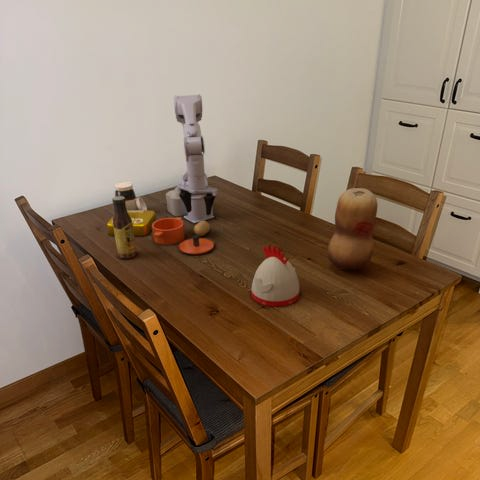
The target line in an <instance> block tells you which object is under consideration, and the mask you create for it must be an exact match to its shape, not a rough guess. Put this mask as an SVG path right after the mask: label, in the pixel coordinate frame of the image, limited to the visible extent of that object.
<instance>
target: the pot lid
mask: <svg viewBox="0 0 480 480" xmlns="http://www.w3.org/2000/svg"><path fill="white" fill-rule="evenodd" d="M214 247H215V245H214V242H213V241H212V240H210V239H208V238H203V237H200V236H198V235H196V234H193V235H192V237H191V238H189V239H184V240H183V241H181V242H180V243H179V244H178V249H179V251H180V252H181V253H184V254H188V255H202V254H206V253H209V252H211V251H212V250H213V249H214Z"/></svg>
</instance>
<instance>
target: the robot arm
mask: <svg viewBox="0 0 480 480" xmlns="http://www.w3.org/2000/svg"><path fill="white" fill-rule="evenodd" d="M173 107H174V114H175V119H176V122H177V123H179V124H181V125H182V131H183V141H182V142H183V151H184V156H185V162H186V171H185V172H183V174H182V175H181V183H180V184H178V185H176V187H177V190H178V191H179V192H180V191H181V192H180V194H179V197H180V198H181V199H182V201H183V203H184V205H185V207H186V210H187V213H188V215H183V218H184V219H186V220H187V221H189V222H191V223H193V224H198V223H199V222H200V221H207V220H211V219H214V218H215V216H214V207H213V204H214V202H215V199H216V197H217V195H219V190H218V188H215V187H212V186H209V181H208V175H207V174H206V172H205V159H204V156H205V151H206V150H205V149H206V148H205V139H204V137H203V134H202V130H201V125H200V123H199V122H201V121H202V118H203V98H202V95H201V94H191V95H174V96H173Z"/></svg>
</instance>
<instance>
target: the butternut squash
mask: <svg viewBox="0 0 480 480" xmlns="http://www.w3.org/2000/svg"><path fill="white" fill-rule="evenodd" d="M377 199H378V198H377V196H376V195H375V193H373V192H372V191H370V190H369V189H367V188H364V187H362V188H361V187H360V188H359V187H352V188H350V189H347V190H345V191H343V192H342V193H341V195H340V196H339V197H338V200H337V203H336V204H337V205H336V208H335V214H334V233H333V235H332V236H331V239H330V241H329V243H328V246H327V258H328V261H329V262H330V263H331V264H332V265H333V267H335V268H338V269H342V270H344V271H347V272H352V271H353V272H354V271H357V270H358V269H359V270H360V269H361V268H364V267H365V266H367V265H368V264H369V263H370V261H371V260H372V258H373V255H374V249H375V248H374V247H375V246H374V245H375V244H374V238H373V230H374V228H375V226H376V225H377V224H376V221H377V220H376V218H377V213H378V200H377Z"/></svg>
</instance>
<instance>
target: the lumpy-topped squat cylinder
mask: <svg viewBox="0 0 480 480" xmlns="http://www.w3.org/2000/svg"><path fill="white" fill-rule="evenodd" d="M180 192H181V191H180ZM180 192H179V191H178V190H177V186H176V187H175V188H174V189H172V190H170V191H167V192H166V193H165V197H166V199H165V200H166V208H167V210H166V211H167V212H168V213H170V214H171V215H172V216H174V217H182V216H183V217H184V216H187V215H188V213H187V210H186V207H185V205H184V203H183V201H182V199H181V198H180V197H179V194H180Z"/></svg>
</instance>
